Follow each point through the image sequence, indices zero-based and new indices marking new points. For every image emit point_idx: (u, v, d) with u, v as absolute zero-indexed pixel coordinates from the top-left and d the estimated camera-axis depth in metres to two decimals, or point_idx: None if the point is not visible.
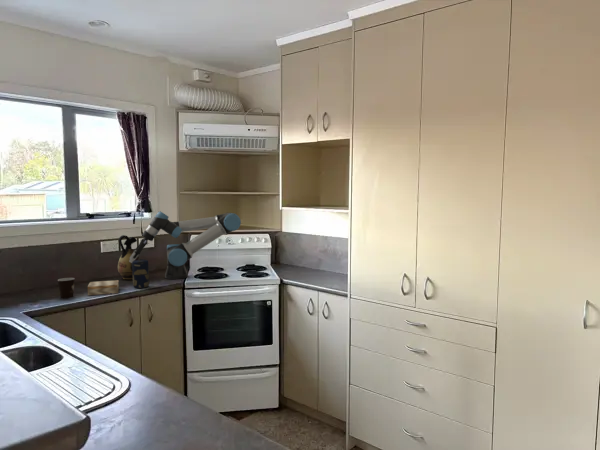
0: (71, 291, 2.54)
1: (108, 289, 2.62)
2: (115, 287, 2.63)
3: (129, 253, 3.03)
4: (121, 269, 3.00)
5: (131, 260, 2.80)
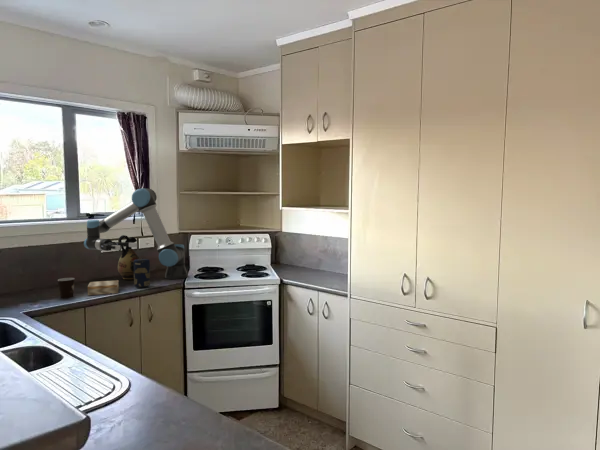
0: (71, 291, 2.54)
1: (108, 289, 2.62)
2: (115, 287, 2.63)
3: (129, 253, 3.03)
4: (121, 269, 3.00)
5: (117, 248, 2.76)
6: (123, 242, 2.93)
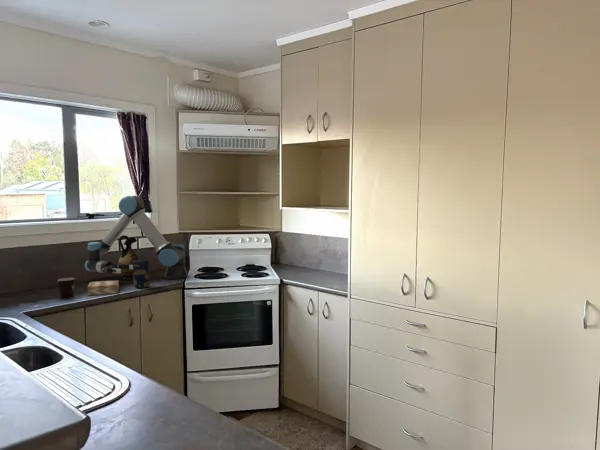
0: (71, 291, 2.54)
1: (108, 289, 2.62)
2: (115, 287, 2.63)
3: (129, 253, 3.03)
4: (121, 269, 3.00)
5: (118, 271, 2.77)
6: (124, 264, 2.94)
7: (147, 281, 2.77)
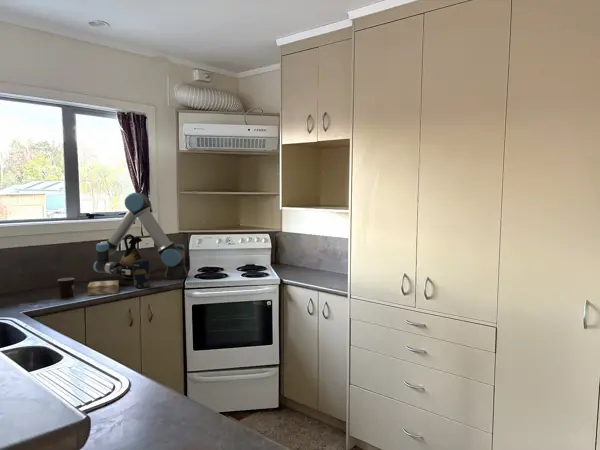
0: (71, 291, 2.54)
1: (108, 289, 2.62)
2: (115, 287, 2.63)
3: (133, 253, 3.01)
4: None
5: (127, 272, 2.73)
6: None
7: (147, 281, 2.77)
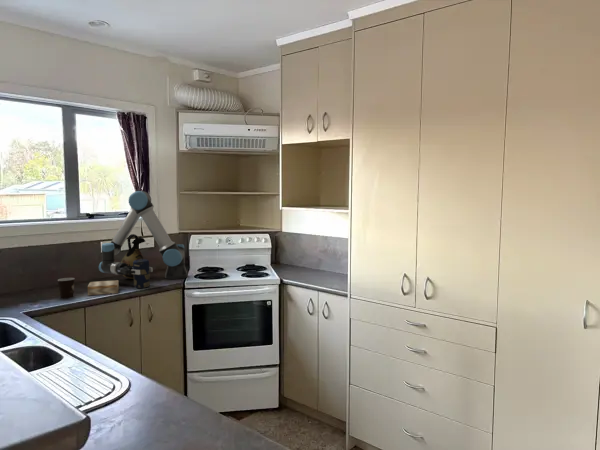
0: (71, 291, 2.54)
1: (108, 289, 2.62)
2: (115, 287, 2.63)
3: (135, 253, 3.01)
4: None
5: (137, 272, 2.72)
6: None
7: (147, 281, 2.77)
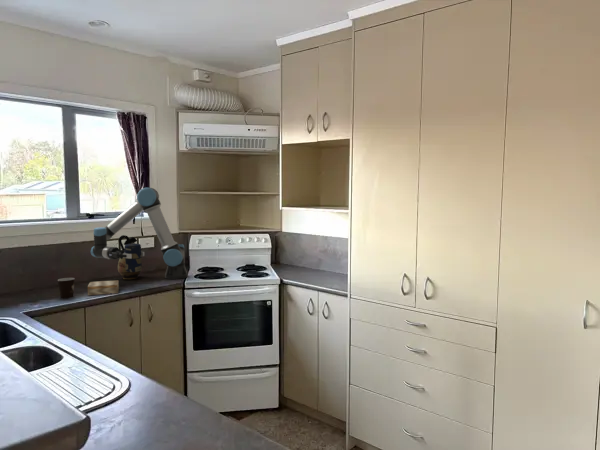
0: (71, 291, 2.54)
1: (108, 289, 2.62)
2: (115, 287, 2.63)
3: None
4: (121, 269, 3.00)
5: (129, 256, 2.70)
6: None
7: (139, 265, 2.74)
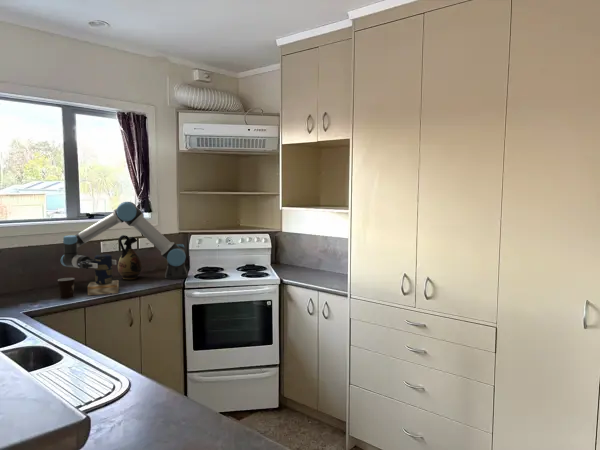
0: (71, 291, 2.54)
1: (108, 289, 2.62)
2: (115, 287, 2.63)
3: (129, 253, 3.03)
4: (121, 269, 3.00)
5: (94, 266, 2.59)
6: None
7: (109, 277, 2.64)
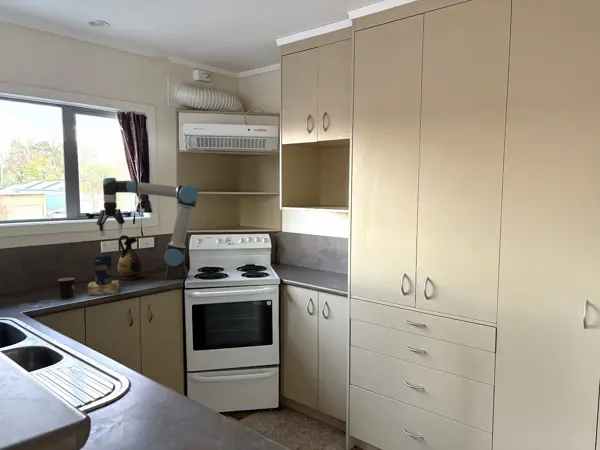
0: (71, 291, 2.54)
1: (108, 289, 2.62)
2: (115, 287, 2.63)
3: (129, 253, 3.03)
4: (121, 269, 3.00)
5: (101, 234, 2.81)
6: (120, 216, 2.92)
7: (109, 277, 2.64)
